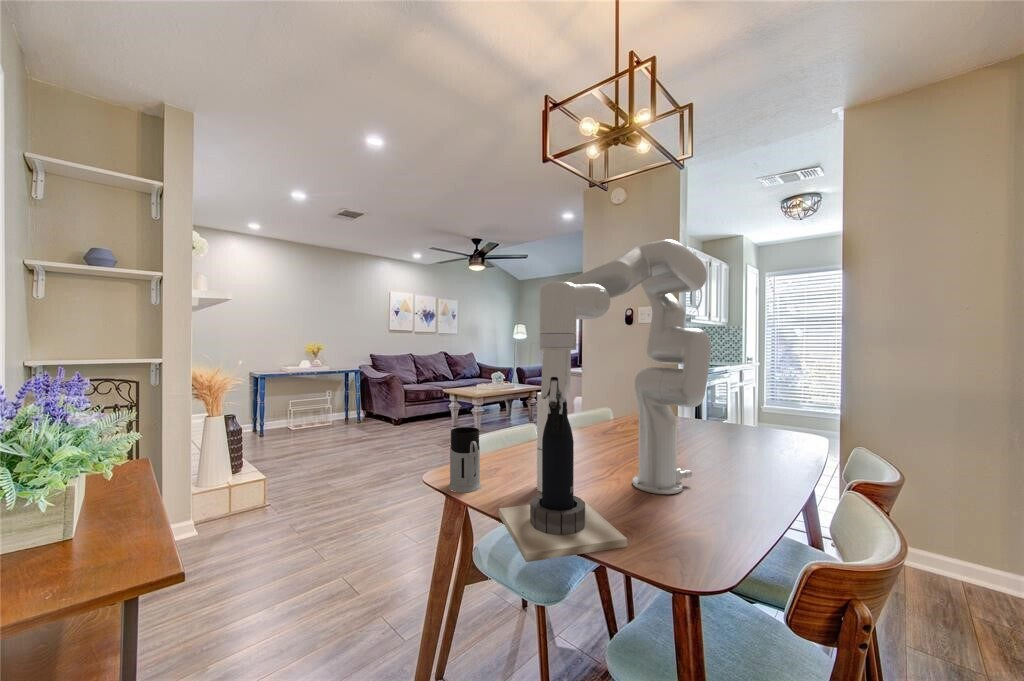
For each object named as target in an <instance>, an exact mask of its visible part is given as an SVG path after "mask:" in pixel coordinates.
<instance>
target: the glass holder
mask: <svg viewBox="0 0 1024 681" xmlns="http://www.w3.org/2000/svg"><path fill="white" fill-rule="evenodd" d="M480 455H481V447H480V429H479V428H477V427H473V426H472V427H471V426H467V427H466V426H462V427H460V426H459V427H456V428H452V429H451V430H450V448H449V472H450V474H449V484H448V487H449V488H448V490H449V489H450V491H451V490H453V491H452V492H454V491H456V492H455V493H459V492H460V494H461V493H463V494H465V492H467V493H473V492H476V491H478V489H479V490H480V489H481V488H482V484H481V480H480V479H481V475H480V472H481V471H480V470H481V469H480V468H481V463H480V461H481V456H480ZM472 491H473V492H472Z"/></svg>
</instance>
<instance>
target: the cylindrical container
mask: <svg viewBox="0 0 1024 681" xmlns="http://www.w3.org/2000/svg"><path fill="white" fill-rule="evenodd" d="M548 399H549V396H548V397H547V398H546V399H543V398H542V397H541V391H539V392H536V401H537V402H536V420H537V421H536V477H537V478H536V489H537V491H538V492H540V493H542V438H543V432H544V427H545V424H546V421H547V418H548V401H549V400H548Z"/></svg>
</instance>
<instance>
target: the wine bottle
mask: <svg viewBox="0 0 1024 681" xmlns="http://www.w3.org/2000/svg"><path fill="white" fill-rule="evenodd" d="M560 393H561V392H560ZM560 395H561V394H560ZM557 398H561V396H557ZM565 400H566V398H565V399H564V400H563V412H562V414H564V434H563V435H552V434H548V432H547V428H548V418H547V421H546V424H545V427H544V432H543V438H542V492H541V494H542V507H543V508H546V509H548V510H554V511H565V510H571V509H573V496H574V467H575V466H574V463H575V462H574V459H575V458H574V456H575V455H574V436H573V435H574V434H573V431H572V427H571V423H570V421H569V418H568V402H566V401H565ZM558 403H559V404H560V402H558Z"/></svg>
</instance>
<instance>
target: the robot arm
mask: <svg viewBox="0 0 1024 681" xmlns="http://www.w3.org/2000/svg"><path fill="white" fill-rule="evenodd" d="M706 281H707V268H706V265H704V262H703V261H702V260H701V258H699V257H698V256H697V255H696V254H694V253H693V252H692V251H691V250H690V249H689V248H687V246H685V245H683V244H682V243H681V242H679V241H677V240H674V239H662V240H657V241H652V242H647V243H646V242H645V243H642V244H639V245H636V246H633V247H631V248H629V249H628V250H626V251H625V252H623V253H621V254H620V255H618V256H617V257H615V258H614V259H612V260H610V261H609V262H607V263H604V264H601V265H599V266H597V267H595V268H592V269H590V270H588V271H585V272H583V273H581V274H578V275H576V276H573V277H571V278H569V279H567V280H566V281H561V280H560V281H549V282H545V283H543V284H542V285H541V286H540V289H539V350H540V351H541V350H542V351H543V354H542V362H541V363H542V364H541V387H540V388H541V390H540V392H541V397H542V398H543V399H546V398H547V397H548V396H549V399H548V400H549V401H548V428H547V432H548V434H552V435H563V434H564V414H562V412H563V400H564V399H565V398H566V400H565V401H566V402H567V401H568V400H567V398H568V397H569V395H570V392H571V378H572V377H571V375H572V371H571V369H572V368H571V367H572V364H571V363H572V361H571V360H572V358H571V356H572V355H571V353H572V351H577V320H592V319H593V320H594V319H598V318H601V317H602V316H604V315H605V314H607V312H608V311H609V309H610V306H611V299H613V298H617V297H619V296H623V295H626V294H627V293H630V292H631V291H632V290H633V289H635V288H636V287H637V286H639V285H641V288H642V289H643V291H644V294H645V295H646V297H647V299H648V302H649V304H650V306H651V313H652V314H651V321H650V328H649V333H648V339H647V347H646V354H647V357H648V358H649V360H651V361H652V362H654V363H658V364H666V365H683V368H675V367H674V368H672V367H660V366H659V367H658V366H656V367H653V366H651V367H645V368H643V369H641V370H640V371H639V372H638V373H637V374H636V376H635V379H634V389H635V390H634V391H635V396H636V400H637V401H636V402H637V409H638V410H637V411H638V475H635V476H633V477H632V484H633V486H634V487H635V488H637V489H639V490H640V491H644V492H646V493H651V494H656V495H674V494H677V493H681V492H682V491H683V489H684V485H683V484H684V483H682V482H681V480H682V479H688V478H689V479H690V478H692V477H693V472H692V470H689V469H687V470H682V469H681V468H677V459H678V458H677V456H678V455H677V449H678V448H677V443H678V442H677V441H678V440H677V429H678V428H677V427H678V426H677V419H676V416H675V413H674V411H673V409H672V408H671V406H676V407H684V408H696V407H699V406H700V405H701V404H702V403H703V401H704V398H705V395H706V390H707V384H708V383H707V382H708V377H709V376H708V375H709V369H710V362H711V352H712V350H711V349H712V347H711V346H712V345H711V340H710V338H709V337H710V336H709V335H708V333H707V332H706V331H705V330H703V329H701V328H697V327H685V320H686V311H685V309H684V307H683V305H682V303H681V302H680V301H679V300H678V299H677V298H676V296H675V295H674V294H681V293H691V292H696V291H699V290H700V289H702V288H703V287H704V286H705V283H706ZM560 392H561V393H560ZM560 394H561V395H560ZM557 396H561V398H557ZM558 402H560V404H559V403H558ZM567 403H568V402H567Z"/></svg>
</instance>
